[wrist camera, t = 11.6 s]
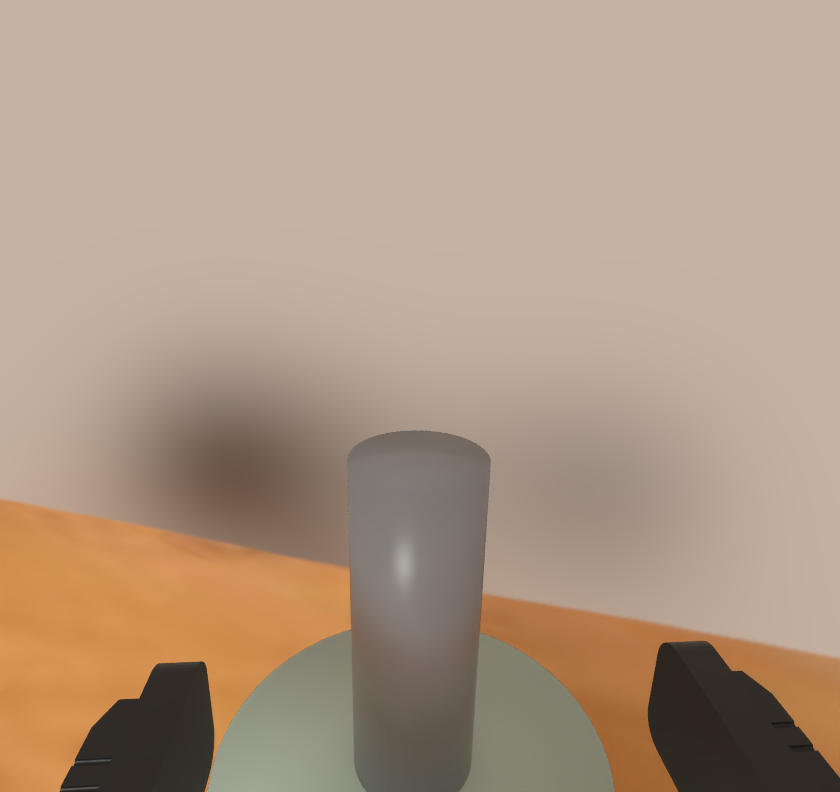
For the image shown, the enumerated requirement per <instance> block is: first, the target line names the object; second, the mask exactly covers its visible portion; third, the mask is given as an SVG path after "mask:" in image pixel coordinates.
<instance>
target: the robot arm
mask: <svg viewBox="0 0 840 792" xmlns="http://www.w3.org/2000/svg"><path fill="white" fill-rule="evenodd" d="M648 721H649V728H650V732H651V736H652V739H653V742H654V744H655V747H656V749H657V751H658V753H659V755H660V757H661V759H662V761H663V763H664V764H665V766H666V768H667V770H668V772H669V774H670V776H671V778H672V780H673V782H674V784H675V786H676V788H677V790H678V792H840V778H839V776H838V775H837V774H836V773H835V771H834V770H833V769H832V768H831V766H830V765H829V764H828V763H827V762H826V760H825V759H824V758H823V757H822V755H821V754H820V753H819V752H818V751H815V750H814V749H813V744H812V743H811V742H810V740H809V739H808V738H807V737H806V735H805V734H804V733H803V732H802V730H801V729H800V728H799V727H796V726H795V724H794V720H793V719H792V718H791V717H790V715H789V714H788V713H787V712H786V711H785V709H784V708H783V707H782V706H781V704H780V703H779V702H778V701H777V699H776V698H775V697H774V696H773V694H772V693H770V692H769V691H768V690H766V689H765V688H764V687H762V686H761V685H760V684H759V683H757V682H756V681H755V680H753V679H752V678H751V677H749V676H748V675H747V674H745V673H744V672H743V671H731V670H730V668H729V667H728V666H727V664H726V663H725V662H724V660H723V659H722V658H721V656H720V655H719V654H718V652H717V651H716V650H715V649H714V647H713V646H712V645H711V644H710V643H708V642H706V641H691V642H669V643H663V644H662V645H661V646H660V648H659V651H658V656H657V661H656V667H655V672H654V678H653V683H652V689H651V694H650V700H649V705H648ZM213 751H214V724H213V716H212V708H211V700H210V692H209V683H208V675H207V668H206V665H205V663H204V662H181V663H159V664H157V665H156V666H155V667H154V668H153V670H152V672H151V674H150V676H149V679H148V681H147V683H146V685H145V687H144V690H143V692H142V694H141V696H140V698H139V699H121V700H118V701H117V702H116V703H115V704H114V705H113V706H112V707H111V708H110V709H109V710H108V711H107V712H106V713H105V714H104V715H103V716H102V717H101V718H100V719H99V721H98V722H97V723H96V724H95V725H94V726H93V727H92V728H91V730H90V732H89V734H88V735H87V737H86V739H85V741H84V743H83V745H82V747H81V749H80V751H79V753H78V755H77V757H76V758H75V764H74V766H71V768H70V770H69V772H68V774H67V776H66V778H65V779H64V781H63V783H62V785H61V790H60V792H205V788H206V784H207V781H208V777H209V773H210V769H211V765H212V759H213Z"/></svg>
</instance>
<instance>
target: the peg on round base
mask: <svg viewBox="0 0 840 792" xmlns="http://www.w3.org/2000/svg"><path fill="white" fill-rule="evenodd" d="M347 461H348V506H349V551H350V600H351V630H348V631H344V632H341V633H339V634H336V635H334V636H331V637H328V638H326V639H323V640H321V641H319V642H317V643H315V644H313V645H311V646H309V647H307V648H306V649H304V650H302V651H301V652H299V653H298V654H296V655H294V656H293V657H291V658H290V659H288V660H287V661H286V662H284V663H283V664H282V665H281V666H279V667H278V668H277V669H275V670H274V671H273V672H272V673H271V674H270V675H269V676H268V677H267V678H265V679H264V680H263V681H262V682H261V683H260V684H259V685H258V686H257V687H256V688H255V690H254V691H253V692H252V693H251V695H250V696H249V697H248V698H247V699H246V701H245V702H244V703H243V704H242V706H241V707H240V709H239V710H238V712H237V714H236V715H235V717H234V718H233V720H232V721H231V723H230V725H229V727H228V729H227V731H226V733H225V735H224V737H223V739H222V741H221V743H220V746H219V749H218V752H217V755H216V758H215V761H214V764H213V767H212V772H211V777H210V782H209V788H208V792H615V787H614V782H613V778H612V773H611V768H610V764H609V761H608V758H607V756H606V753H605V750H604V747H603V745H602V742H601V740H600V738H599V736H598V734H597V732H596V730H595V728H594V726H593V724H592V722H591V720H590V719H589V717H588V716H587V714H586V713H585V711H584V710H583V708H582V707H581V705H580V704H579V702H578V701H577V700H576V699H575V698H574V696H573V695H572V694H571V693H570V692H569V691H568V689H567V688H566V687H565V686H564V685H563V684H562V683H561V682H560V681H559V680H558V679H557V678H556V677H555V676H554V675H553V674H551V673H550V672H549V671H548V670H547V669H546V668H544V667H543V666H542V665H540V664H539V663H538V662H536V661H535V660H534V659H533V658H531V657H529V656H528V655H526V654H524V653H523V652H521V651H520V650H518V649H516V648H515V647H513V646H511V645H509V644H507V643H505V642H503V641H500V640H498V639H496V638H494V637H491V636H488V635H486V634H483V633H480V619H481V604H482V588H483V573H484V556H485V542H486V526H487V510H488V493H489V479H490V457H489V455H488V454H487V452H486V451H485V450H484V449H483V448H482V447H480V446H479V445H477V444H476V443H474V442H472V441H470V440H467V439H465V438H462V437H459V436H455V435H450V434H447V433H441V432H432V431H400V432H392V433H386V434H382V435H378V436H375V437H372V438H369V439H367V440H364V441H362V442H361V443H359V444H357V445H356V446H355V447H354V448H353V449H352V450H351V451H350V453H349V455H348V460H347Z"/></svg>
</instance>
